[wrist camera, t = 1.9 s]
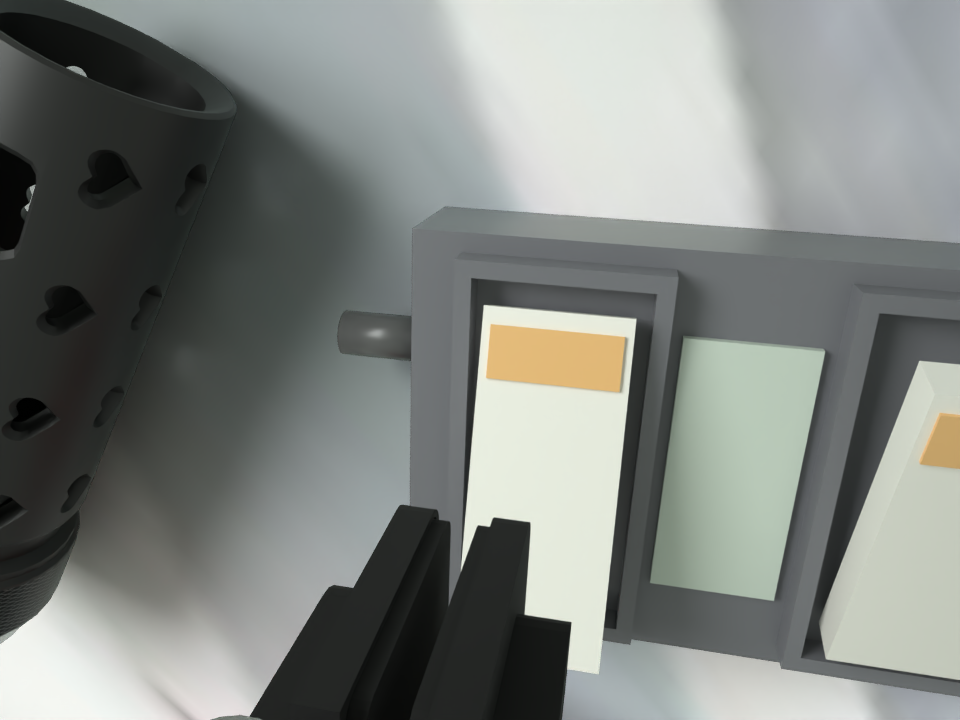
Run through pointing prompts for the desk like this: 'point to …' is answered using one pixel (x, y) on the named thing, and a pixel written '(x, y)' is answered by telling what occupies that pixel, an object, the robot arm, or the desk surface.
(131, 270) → the muzzle brake
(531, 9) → the desk surface
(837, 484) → the panel
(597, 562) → the plate
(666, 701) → the desk surface
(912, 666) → the rocker
